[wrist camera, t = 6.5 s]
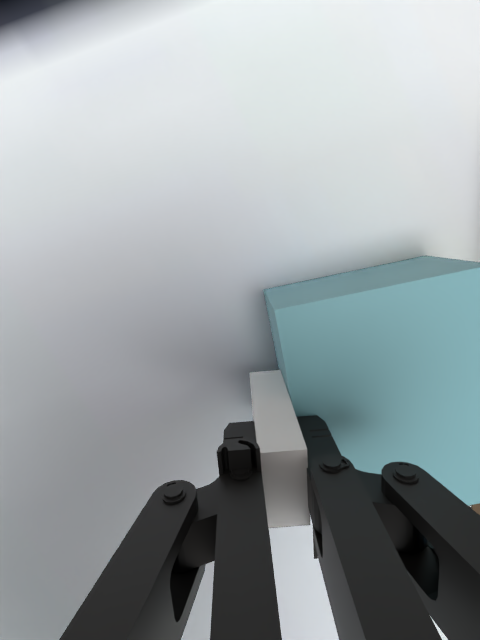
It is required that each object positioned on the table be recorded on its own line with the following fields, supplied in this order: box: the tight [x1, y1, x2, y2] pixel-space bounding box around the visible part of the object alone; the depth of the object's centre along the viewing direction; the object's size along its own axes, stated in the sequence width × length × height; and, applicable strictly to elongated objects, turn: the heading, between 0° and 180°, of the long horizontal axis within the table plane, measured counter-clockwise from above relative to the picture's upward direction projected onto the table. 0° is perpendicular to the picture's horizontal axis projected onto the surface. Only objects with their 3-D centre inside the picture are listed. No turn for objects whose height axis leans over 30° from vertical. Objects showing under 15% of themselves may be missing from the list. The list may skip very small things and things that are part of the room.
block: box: [264, 256, 480, 505], centre depth 17 cm, size 8×10×5 cm
